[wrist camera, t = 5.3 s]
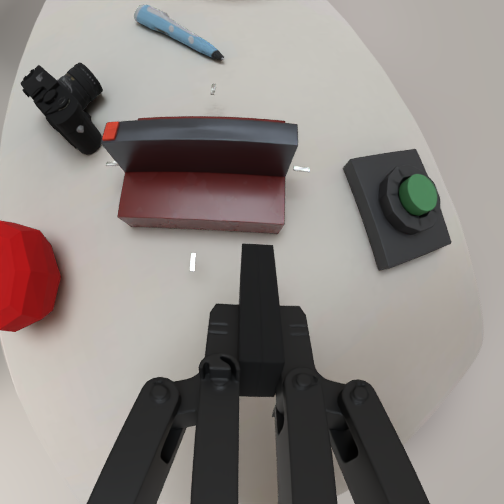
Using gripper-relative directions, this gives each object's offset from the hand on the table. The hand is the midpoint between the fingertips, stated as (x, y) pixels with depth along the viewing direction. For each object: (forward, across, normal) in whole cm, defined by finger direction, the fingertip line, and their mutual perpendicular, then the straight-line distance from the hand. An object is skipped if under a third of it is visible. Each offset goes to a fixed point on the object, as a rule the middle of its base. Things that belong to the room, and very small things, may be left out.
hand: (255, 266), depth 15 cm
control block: (+13, -15, +2) cm, 20 cm away
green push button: (+11, -15, 0) cm, 19 cm away
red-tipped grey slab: (+12, +4, -1) cm, 13 cm away
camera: (+21, +21, -5) cm, 30 cm away
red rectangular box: (+14, +4, +1) cm, 15 cm away
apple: (+7, +23, +9) cm, 25 cm away
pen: (+31, +11, -15) cm, 36 cm away
